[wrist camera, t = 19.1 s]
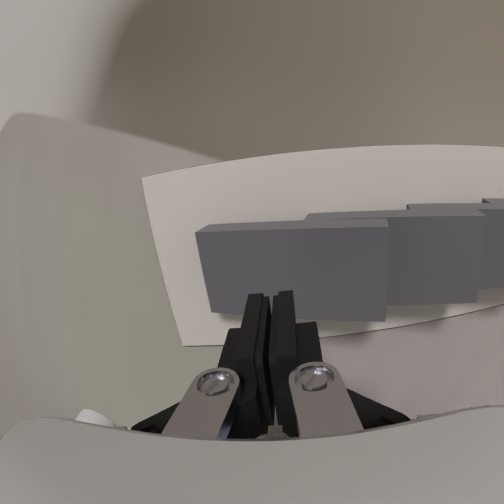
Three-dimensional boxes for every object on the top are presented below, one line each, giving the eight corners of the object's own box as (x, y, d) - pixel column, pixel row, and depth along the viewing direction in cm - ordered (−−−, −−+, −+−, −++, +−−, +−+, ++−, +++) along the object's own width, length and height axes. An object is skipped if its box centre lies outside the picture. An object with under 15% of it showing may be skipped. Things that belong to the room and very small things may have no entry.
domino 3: (407, 203, 17) (539, 204, 13) (406, 280, 18) (531, 275, 14) (410, 209, 15) (550, 210, 11) (408, 291, 17) (540, 285, 13)
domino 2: (308, 213, 17) (476, 208, 14) (315, 292, 19) (469, 289, 15) (302, 220, 16) (485, 216, 12) (310, 304, 18) (476, 302, 14)
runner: (563, 283, 17) (565, 284, 17) (184, 343, 22) (183, 345, 21) (575, 155, 13) (577, 156, 13) (143, 177, 18) (141, 177, 18)
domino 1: (208, 224, 18) (386, 218, 14) (222, 300, 20) (385, 306, 16) (194, 232, 17) (388, 226, 13) (211, 312, 18) (385, 321, 14)
